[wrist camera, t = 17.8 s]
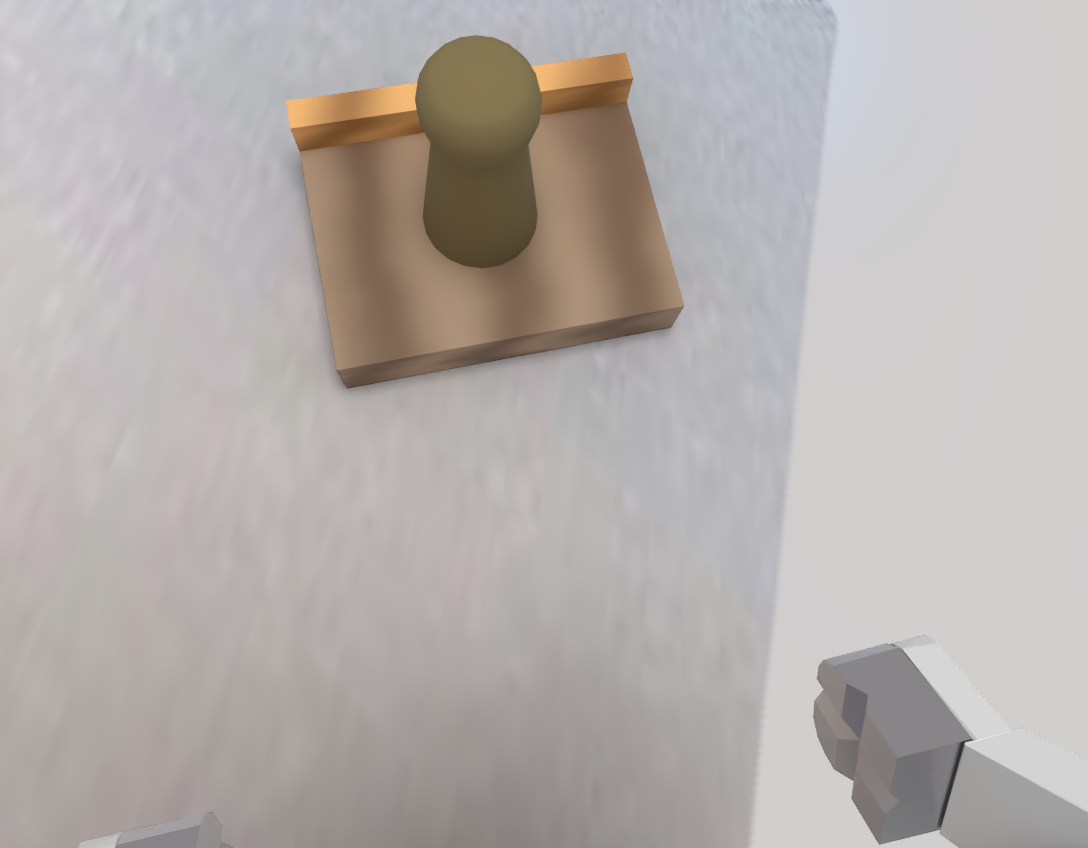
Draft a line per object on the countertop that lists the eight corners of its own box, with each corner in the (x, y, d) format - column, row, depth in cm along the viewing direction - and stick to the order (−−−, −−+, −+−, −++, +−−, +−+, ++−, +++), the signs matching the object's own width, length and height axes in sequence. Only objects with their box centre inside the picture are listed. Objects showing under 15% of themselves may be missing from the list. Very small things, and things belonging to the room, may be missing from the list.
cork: (489, 144, 43) (490, -16, 32) (561, 225, 42) (586, 88, 31) (399, 205, 41) (369, 60, 31) (471, 290, 40) (465, 170, 30)
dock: (347, 388, 42) (328, 357, 37) (307, 157, 45) (285, 101, 40) (670, 327, 44) (693, 290, 39) (611, 111, 47) (625, 52, 42)
